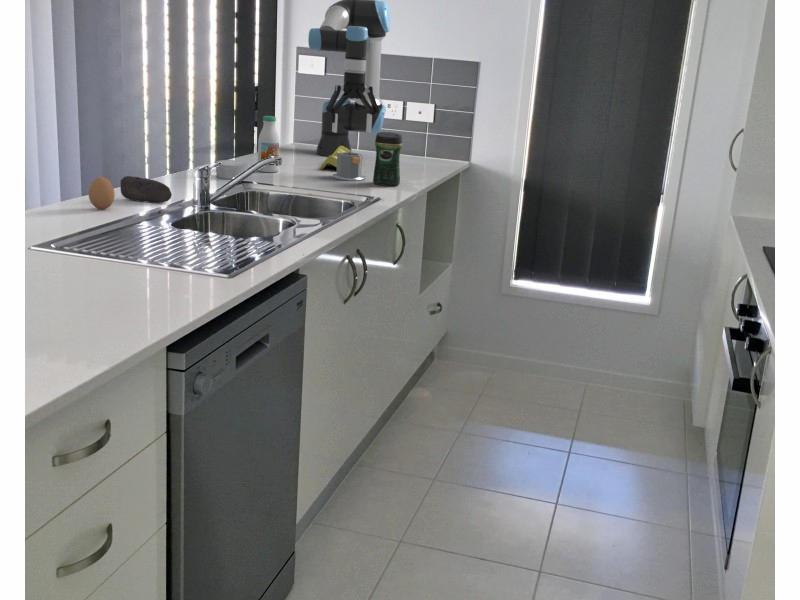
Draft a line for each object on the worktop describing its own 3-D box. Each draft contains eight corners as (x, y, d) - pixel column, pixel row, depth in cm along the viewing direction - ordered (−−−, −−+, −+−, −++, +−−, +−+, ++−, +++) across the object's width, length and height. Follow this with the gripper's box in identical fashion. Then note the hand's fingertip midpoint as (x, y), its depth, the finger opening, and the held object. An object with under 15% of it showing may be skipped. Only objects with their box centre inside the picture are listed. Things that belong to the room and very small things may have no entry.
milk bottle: (253, 171, 313) (254, 115, 307) (264, 168, 320) (265, 114, 314) (271, 173, 310) (273, 118, 304) (282, 171, 317) (284, 116, 311)
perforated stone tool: (175, 202, 251) (175, 179, 249) (167, 206, 246) (167, 182, 244) (127, 197, 253) (127, 174, 251) (119, 200, 248) (118, 176, 246)
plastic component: (349, 166, 325) (327, 153, 325) (340, 182, 328) (318, 169, 327) (359, 156, 343) (338, 143, 343) (350, 171, 346) (329, 158, 346)
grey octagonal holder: (354, 173, 319) (355, 152, 316) (366, 178, 310) (368, 156, 307) (333, 174, 315) (334, 152, 312) (345, 179, 306) (346, 156, 303)
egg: (117, 211, 234) (116, 179, 232) (92, 212, 231) (91, 179, 228) (111, 206, 240) (110, 174, 237) (86, 207, 236) (85, 175, 234)
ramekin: (227, 181, 290) (228, 166, 288) (208, 176, 297) (208, 161, 295) (254, 179, 298) (254, 164, 296) (234, 173, 305) (234, 159, 303)
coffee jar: (401, 184, 310) (405, 132, 304) (396, 187, 302) (400, 134, 297) (375, 181, 311) (378, 129, 306) (370, 184, 304) (373, 132, 298)
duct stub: (337, 174, 320) (339, 152, 317) (368, 177, 318) (370, 156, 315) (328, 178, 309) (329, 156, 306) (360, 182, 306) (361, 160, 304)
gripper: (381, 72, 311) (377, 130, 317) (318, 69, 299) (315, 130, 306) (390, 74, 304) (386, 133, 311) (326, 71, 293) (323, 133, 300)
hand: (351, 132), depth 308 cm, fingers open, 13 cm apart
